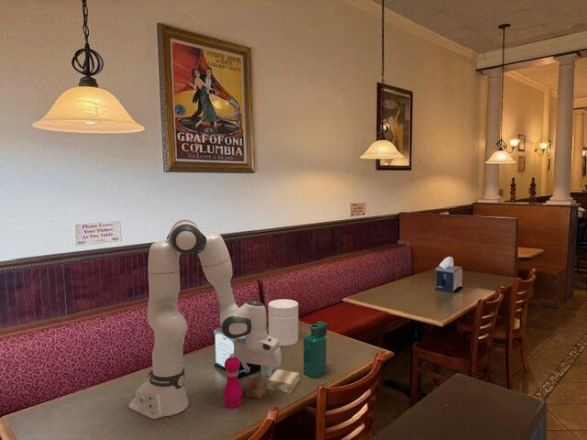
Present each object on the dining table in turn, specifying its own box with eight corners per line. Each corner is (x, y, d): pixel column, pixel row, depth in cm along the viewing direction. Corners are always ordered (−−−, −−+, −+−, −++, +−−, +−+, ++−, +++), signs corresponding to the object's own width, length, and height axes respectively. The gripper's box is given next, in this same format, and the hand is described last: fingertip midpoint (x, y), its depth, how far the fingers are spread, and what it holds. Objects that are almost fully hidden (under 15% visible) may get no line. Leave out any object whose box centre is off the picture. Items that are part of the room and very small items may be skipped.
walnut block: (246, 396, 165) (245, 381, 165) (252, 388, 171) (252, 375, 170) (259, 398, 163) (259, 384, 163) (266, 391, 169) (265, 377, 168)
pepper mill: (238, 409, 155) (238, 358, 153) (220, 407, 157) (219, 357, 155) (244, 399, 162) (244, 350, 160) (227, 397, 164) (226, 349, 162)
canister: (302, 336, 228) (302, 300, 226) (292, 347, 213) (291, 309, 211) (275, 332, 233) (275, 298, 231) (263, 343, 218) (263, 306, 216)
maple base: (268, 388, 171) (267, 379, 170) (277, 378, 180) (277, 369, 179) (290, 393, 167) (290, 383, 167) (299, 382, 176) (299, 373, 176)
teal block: (260, 375, 183) (260, 362, 182) (266, 369, 188) (266, 356, 188) (273, 377, 181) (273, 364, 180) (278, 371, 186) (278, 358, 186)
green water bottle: (314, 379, 179) (314, 330, 177) (301, 372, 185) (301, 324, 183) (330, 372, 185) (330, 324, 183) (317, 365, 192) (317, 319, 189)
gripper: (229, 340, 166) (231, 373, 167) (276, 347, 158) (277, 381, 160) (237, 335, 171) (238, 366, 173) (282, 340, 164) (283, 373, 166)
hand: (257, 373), depth 166 cm, fingers open, 8 cm apart
